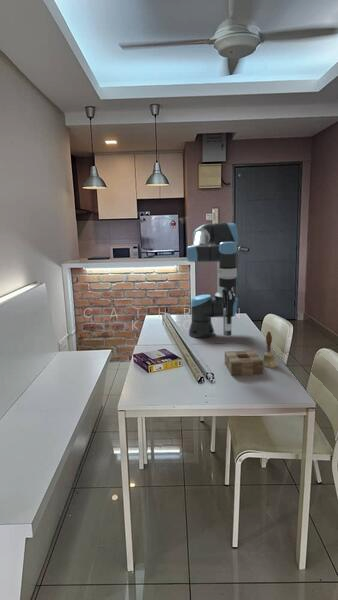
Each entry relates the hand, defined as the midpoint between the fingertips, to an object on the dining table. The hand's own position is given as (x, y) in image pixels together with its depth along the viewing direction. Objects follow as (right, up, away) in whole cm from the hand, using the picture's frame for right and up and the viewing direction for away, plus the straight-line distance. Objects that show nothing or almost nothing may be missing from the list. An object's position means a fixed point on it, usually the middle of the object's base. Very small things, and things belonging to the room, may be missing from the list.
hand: (227, 328), depth 165 cm
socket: (+8, -18, +3) cm, 20 cm away
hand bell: (+20, -18, +7) cm, 28 cm away
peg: (0, -3, +1) cm, 3 cm away
